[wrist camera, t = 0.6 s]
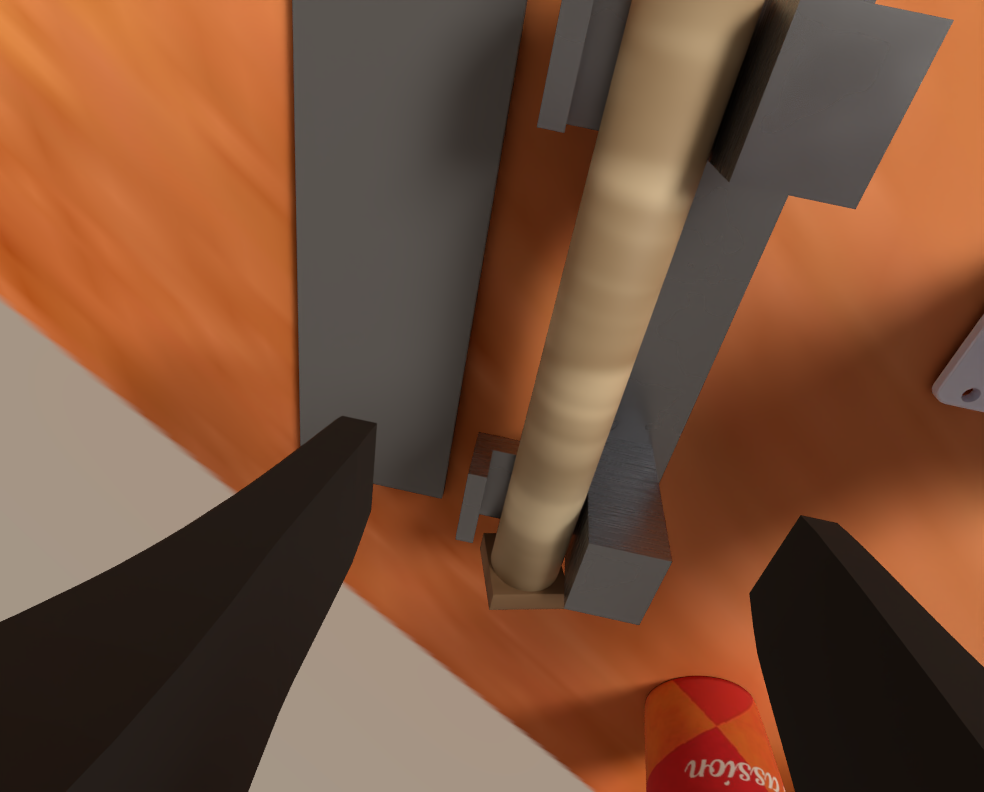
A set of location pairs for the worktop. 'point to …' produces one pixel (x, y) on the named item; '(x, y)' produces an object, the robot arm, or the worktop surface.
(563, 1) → the hook standards
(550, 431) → the tan wooden rod
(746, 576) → the worktop surface
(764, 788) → the paper cup
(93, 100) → the worktop surface
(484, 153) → the mat
